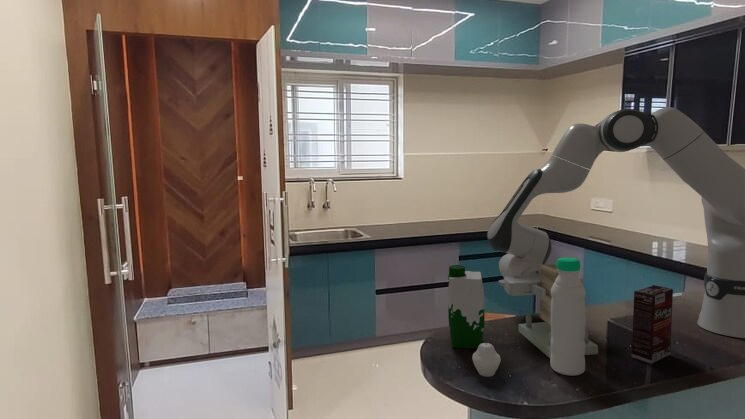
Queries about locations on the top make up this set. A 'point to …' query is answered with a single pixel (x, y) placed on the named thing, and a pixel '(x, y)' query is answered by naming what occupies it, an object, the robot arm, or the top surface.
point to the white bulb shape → (486, 360)
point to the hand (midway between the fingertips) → (557, 292)
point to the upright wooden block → (547, 280)
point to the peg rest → (549, 336)
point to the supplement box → (652, 323)
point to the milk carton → (465, 307)
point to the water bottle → (568, 319)
